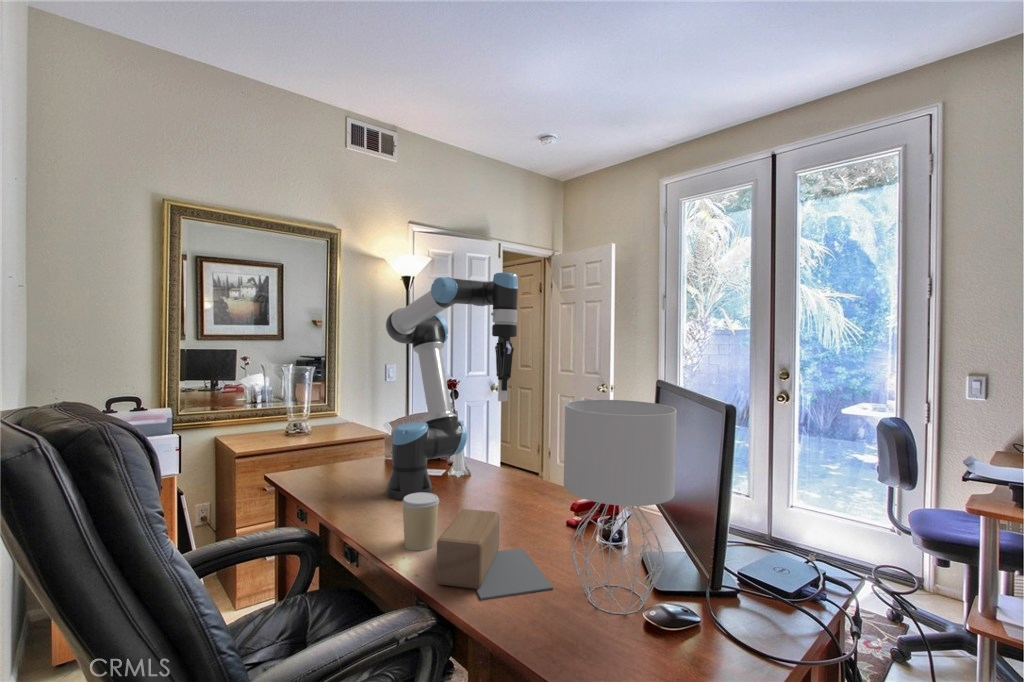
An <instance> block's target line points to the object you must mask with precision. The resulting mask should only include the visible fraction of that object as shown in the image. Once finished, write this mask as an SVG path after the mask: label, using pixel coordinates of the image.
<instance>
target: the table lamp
mask: <svg viewBox="0 0 1024 682" xmlns="http://www.w3.org/2000/svg"><path fill="white" fill-rule="evenodd" d="M564 411H565V412H564V413H565V414H564V445H563V446H564V447H563V448H564V453H563V455H564V457H563V487H564V489H565V490H566V491H568V493H570V494H572V495H573V496H576V497H578V498H581V499H583V500H587V501H590V502H594V503H595V504H594V506H592V508H591V509H590V510H589V512H588V513H587V514H586V515H585V516H584V517H583V519H582V520H580V522H579V524H578V526H577V527H576V530H575V532H574V535H573V536H572V539H571V546H570V550H571V557H570V558H571V562H572V564H573V567H574V569H575V572H576V574H577V577H578V578H579V581H580V584H581V587H582V588H583V590H584V592H585V594H586V597H587V599H588V602H590V604H592V606H594V607H595V608H596V609H598V610H601V611H603V612H605V613H608V614H614V615H624V616H626V615H630V614H634V613H637V612H638V613H639V611H640V610H641V609H642V607H643V606H644V605H645V603H646V601H647V600H648V599H649V597H650V595H651V593H652V591H653V590H654V588H655V586H656V584H657V582H658V580H659V578H660V576H661V574H662V572H663V570H664V568H665V567H666V561H665V555H664V550H663V548H662V546H661V543H660V541H659V538H658V535H657V534H656V532H655V531H656V530H654V527H653V526H652V524H651V523H650V521H649V520H648V518H647V517H646V515H645V514H644V512H643V511H642V510H641V508H640V507H644V506H645V507H646V506H655V505H659V504H664V503H667V502H669V501H671V500H672V499H673V498H674V497H675V495H676V493H675V492H676V457H677V456H676V453H677V452H676V451H677V450H676V449H677V416H678V415H677V414H678V413H677V411H678V410H677V409H676V408H675V407H672V406H669V405H665V404H661V403H656V402H655V403H654V402H648V401H647V402H645V401H637V400H636V401H635V400H624V399H585V400H584V399H581V400H573V401H568V402H567V403H565V405H564ZM601 504H603V505H605V506H604V508H603V511H602V512H601V514H600V517H599V519H598V522H597V523H596V522H595V521H594V520H593V519H592V517H593V516H594V514H596V511H597V509H598V508H599V507H600V505H601ZM610 505H611V506H612V505H613V511H612V513H613V514H612V521H611V522H610V523H608V524H606V525H604V521H605V516H606V515H607V511H608V508H609V507H610ZM616 506H620V509H621V517H619V518H616V519H615V513H616V512H615V511H616ZM626 507H631V510H632V511H633V513H634V515H635V517H636V519H637V521H638V524H639V526H640V527H641V530H639V528H638V527H636V525H634V524H633V523H631V522H630V521H629V520H628V516H627V511H626ZM635 507H636V508H637V510H638V512H639V513H640V515H641V517H643V519H644V520H645V522H646V524H647V526H649V528H650V529H648V530H647V531H645V530H644V527H643V526H642V522H641V518H640V517H639V515H638V512H637V511H636V509H635ZM623 511H624V512H623ZM589 514H590V515H589ZM624 516H625V517H624ZM586 518H587V519H586ZM602 518H603V519H602ZM585 519H586V520H585ZM601 519H602V522H601ZM614 519H615V520H614ZM621 519H622V521H621V522H622V544H621V545H622V546H621V551H620V550H618V549H617V548H616V547H615V546H614V545H613V544H612V538H613V530H614V523H616V522H618V521H619V520H621ZM624 520H625V522H626V526H627V532H628V536H629V541H630V546H631V551H630V552H629V553H627V554H625V555H624V543H625V541H624V539H625V534H624V533H625V532H624V531H625V529H624V528H625V527H624V526H625V525H624V524H625V523H624ZM589 521H591V522H592V523H593V524H595V525H596V526H595V529H594V532H593V534H592V535H591V538H590V540H589V543H588V548H587V550H586V547H585V543H584V535H585V530H586V528H587V526H588V523H589ZM583 522H584V523H583ZM600 522H601V525H599V524H600ZM582 523H583V524H582ZM581 524H582V525H581ZM609 525H611V530H610V531H611V532H610V538H609V539H610V541H609V543H608V542H607V541H606V540H605V539H604V538H603V536H602V535H603V529H604V528H605V527H608V526H609ZM630 525H631V526H632V527H633V528H634V529H636V530H637V531H638V532H639V533H640V534H642V538H643V544H642V545H640V546H639V547H637V548H636V549H635V548H634V547H633V541H632V537H631V531H630V530H631V529H630V527H629V526H630ZM580 526H581V527H580ZM598 527H599V528H600V537H599V539H598V540H597V542H596V543H595V545H594V547H593V548H592V549H591V552H590V548H591V544H592V542H593V541H592V540H593V537H594V536H595V534H596V531H597V529H598ZM650 531H652V533H653V534H654V537H655V541H656V542H657V546H658V547H657V546H656V545H654V544H653V543H651V542H650V540H649V538H648V536H647V533H649V532H650ZM576 537H577V538H576ZM575 538H576V540H575V543H574V539H575ZM579 538H580V539H581V542H582V547H583V550H584V554H585V555H582V554H581V553H580V552H578V551H577V550H576V549H575V547H576V545H577V542H578V540H579ZM645 539H646V541H645ZM599 542H600V545H601V548H599V549H598V550H595V548H596V547H597V546H598V544H599ZM603 542H605V544H607V545H605V546H603ZM646 542H647V544H646ZM648 546H649V549H650V552H651V556H652V559H653V562H654V563H653V564H654V565H653V568H652V564H651V560H650V558H649V554H648V551H647V548H648ZM652 547H653V548H654V549H655V550H657V551H658V556H657V559H656V560H655V556H654V553H653V550H652ZM606 548H609V550H608V562H607V573H606V567H605V558H604V549H606ZM641 548H642V549H641ZM639 549H641V554H640V555H639V556H638V558H637V560H636V562H635V554H634V553H635V551H637V550H639ZM594 550H595V551H594ZM611 550H612V551H614V553H616V554H617V555H618V556H619V557H620V559H619V561H618V563H617V564H616V566H615V568H614V569H613V571H612V573H611V574H610V563H611V562H610V561H611V560H610V559H611ZM589 552H590V554H589ZM598 552H601V555H602V565H603V573H604V579H603V578H602V576H601V575H600V574H599V572H598V571H597V570H596V569H595V567H594V566H593V564H592V563H591V562H590V560H589V558H590V557H591V556H593V555H594V554H596V553H598ZM644 552H645V553H646V557H647V559H648V560H647V561H648V564H649V567H650V570H651V571H650V572H649V573H648V574H647V575H646V576H645V577H644V578H643V579H642V580H641V581H639V580H638V579H637V575H638V573H639V569H640V567H641V566H640V565H641V562H642V558H643V554H644ZM575 553H577V554H578V555H579V556H580V557H582V558H583V559H585V562H584V569H583V570H582V571H581V569H580V566H579V563H578V560H577V558H576V556H575ZM630 554H632V561H633V562H632V561H630V559H628V558H627V556H628V555H630ZM661 554H662V559H663V564H662V565H661V566H659V567H657V566H656V565H657V564H658V560H659V559H660V557H661V556H660V555H661ZM624 559H625V560H626V561H627V562H629V563H630V565H632V567H633V573H634V574H633V575H634V576H633V577H634V578H632V579H630V576H629V574H628V571H627V568H626V564H625V561H624ZM638 562H639V563H638ZM619 564H620V570H619V571H620V572H619V584H610V581H611V578H612V576H613V575H614V573H615V571H616V569H617V568H618V566H619ZM637 564H638V565H637ZM636 566H637V570H636ZM622 567H624V570H625V574H626V576H627V578H628V581H626V582H625V583H623V584H621V581H622V580H621V579H622ZM591 568H592V569H593V570H594V571H595V573H596V574H597V576H598V577H599V579H600V580H601V581H602V583H603V584H602V583H600V581H598V579H596V577H594V576H593V574H592V570H591ZM660 568H661V569H660ZM657 570H659V572H658V573H657ZM584 572H585V576H586V579H587V584H586V582H585V579H584V576H583V573H584ZM653 573H655V574H654V576H653ZM606 575H607V576H606ZM609 575H610V576H609ZM589 576H590V577H591V581H592V583H593V588H592V586H591V583H590V580H589ZM652 576H653V578H652ZM647 578H648V579H647ZM646 579H647V581H646V584H643V582H644V581H645V580H646ZM594 580H595V581H596V583H598V584H599V586H598V585H597V586H596V585H595V582H594ZM631 582H632V583H631ZM636 582H637V584H636V585H635V583H636ZM627 584H629V585H630V588H629V587H626V585H627ZM639 585H641V586H642V587H643V588H644V589H643V591H642V593H641V594H639V593H638V592H636V591H635V589H637V587H638V586H639ZM606 587H607V588H606ZM610 587H615V588H613V589H611V590H610ZM596 588H602V589H604V590H605V591H606V592H607V593H606V595H605V596H604V597H603V598H602V600H600V602H599V603H598V604H597V601H596V598H595V595H594V592H593V591H594V590H596ZM620 588H623V589H625V590H629V591H630V595H629V599H628V603H627V606H626V608H625V609H626V610H624V609H623V608H622V606H621V605H620V603H619V602H618V600H616V598H615V597H614V596H613V594H612V592H614V591H616V590H618V589H620ZM645 590H646V591H645ZM633 593H635V594H636V595H637V596H639V598H638V600H636V602H635V603H634V604H633V605H631V607H630V608H629V606H630V603H631V599H632V595H633ZM607 597H608V604H609V610H605V609H603V608H600V605H601V604H602V603H603V602H604V601H605V599H606V598H607ZM611 598H612V599H613V600H614V602H615V603H616V604H617V605H618V607H619V608H620V609H621V611H622V612H614V611H613V612H612V606H611V605H612V603H611ZM591 600H592V601H591ZM640 601H641V602H640ZM639 602H640V604H639V606H638V609H637V610H634V611H631V610H632V609H634V607H635V606H636V605H637V604H638V603H639Z"/></svg>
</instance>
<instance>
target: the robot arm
mask: <svg viewBox="0 0 1024 682" xmlns="http://www.w3.org/2000/svg"><path fill="white" fill-rule="evenodd" d="M518 278H519V277H518V275H517V274H516V273H514V272H496V273H494V274H493V278H492V281H480V280H470V279H460V278H454V277H453V278H452V277H449V276H448V277H444V276H443V277H441V276H440V277H437V278H435V279H434V280H433V283H432V284H431V287H430V290H429V291H428V292H425V293H424V294H423V295H421V296H420V297H418V298H416V299H415V300H414V301H412V302H411V303H409V304H408V305H407V306H404V307H399V308H397V309H395V310H394V311H393V312H391V313H390V314H389V315H388V316H387V318H386V321H385V328H386V332H387V334H388V336H389V337H390V338H391V339H392V340H393V341H395V342H397V343H399V344H407V345H409V344H411V345H412V348H413V349H412V350H413V352H415V353H416V354H417V355H418V362H419V366H420V373H421V379H422V385H423V391H424V397H425V404H426V410H427V418H426V420H425V421H415V422H414V421H412V422H405V423H402V424H399V425H397V426H396V427H395V428H394V429H393V431H392V440H391V443H392V444H391V446H392V447H391V448H392V449H391V451H392V453H391V456H392V457H391V460H392V462H391V465H392V466H391V472H390V473H391V474H390V476H389V478H388V482H387V485H386V490H385V491H386V492H385V494H386V496H387V497H389V498H390V499H394V500H401V501H403V499H404V497H405V496H407V495H409V494H412V493H420V492H425V493H432V494H433V492H432V491H433V490H432V488H433V486H432V482H431V478H430V476H429V472H428V460H433V459H439V458H445V457H448V458H449V457H452V456H455V455H459V454H460V453H462V452H463V450H464V449H465V446H466V444H467V440H468V433H467V428H466V425H464V423H463V422H461V421H459V420H458V416H457V414H455V413H454V412H453V410H452V405H451V400H450V393H449V388H448V383H447V377H446V371H445V370H446V369H445V365H444V359H443V354H442V353H443V352H442V349H443V348H444V346H445V343H446V342H447V340H448V335H449V326H448V324H447V322H446V319H445V318H444V317H443V316H441V315H440V313H441V312H443V311H444V310H447V309H448V308H449V307H452V306H454V305H456V304H457V305H458V304H460V305H473V306H476V307H485V306H492V312H490V315H491V316H492V322H493V323H494V324H492V327H491V331H492V332H491V336H492V337H498V338H497V342H496V345H495V347H494V351H495V368H496V369H495V370H496V377H497V380H498V381H497V382H498V386H497V389H498V390H497V401H498V402H509V399H508V398H509V379H511V377H512V376H511V375H512V366H513V365H512V364H513V356H514V355H513V354H514V350H515V348H514V347H513V343H512V341H511V338H515V337H517V335H518V331H517V328H518V326H517V325H516V324H517V323H518V298H519V297H518V296H519V295H518V294H519V293H518V292H519V283H518V282H519V281H518Z"/></svg>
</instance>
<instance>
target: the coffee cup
mask: <svg viewBox="0 0 1024 682" xmlns="http://www.w3.org/2000/svg"><path fill="white" fill-rule="evenodd" d="M401 501H402V502H401V504H402V515H403V517H402V518H403V519H402V520H403V538H404V547H405V548H406V549H408V550H411V551H426V550H429V549H431V548H433V547H434V546H435V544H436V538H437V526H438V514H439V503H440V498H439V496H438V495H437V494H435V493H433V492H432V493H425V492H420V493H412V494H409V495H407V496H405V497H404V499H403V500H401Z"/></svg>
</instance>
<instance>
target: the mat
mask: <svg viewBox="0 0 1024 682" xmlns="http://www.w3.org/2000/svg"><path fill="white" fill-rule="evenodd" d="M550 590H554V587H553V585H552V584H551V583H550V581H549V580H548V579H547V578H546V576H545V575H544V573H543V572H542V571H541V569H540V568H539V567H538V565H537V564H536V563H535V562H534V560H532V558H531V557H530V556H529V554H528V553H527V552H526V550H525V549H524V548H523V547H522V548H515V549H506V550H498V551H497V553H496V556H495V558H494V560H493V562H492V564H491V566H490V568H489V570H488V572H487V574H486V576H485V578H484V580H483V582H482V584H481V586H480V587H479V588H476V589H475V591H476V593H477V595H478V597H479V599H480V601H483V600H490V599H496V598H503V597H511V596H516V595H517V596H518V595H524V594H525V595H526V594H529V593H530V594H531V593H536V592H537V593H539V592H544V591H550Z"/></svg>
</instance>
